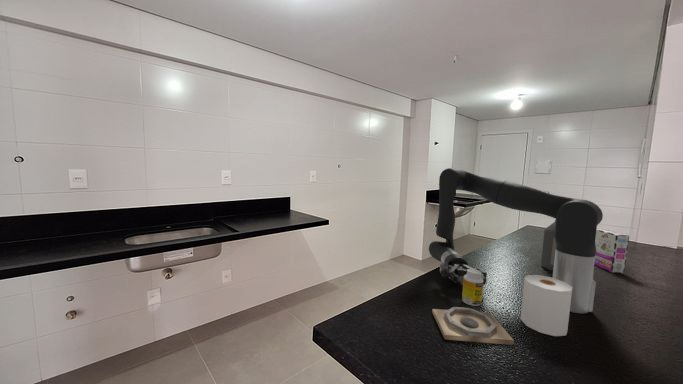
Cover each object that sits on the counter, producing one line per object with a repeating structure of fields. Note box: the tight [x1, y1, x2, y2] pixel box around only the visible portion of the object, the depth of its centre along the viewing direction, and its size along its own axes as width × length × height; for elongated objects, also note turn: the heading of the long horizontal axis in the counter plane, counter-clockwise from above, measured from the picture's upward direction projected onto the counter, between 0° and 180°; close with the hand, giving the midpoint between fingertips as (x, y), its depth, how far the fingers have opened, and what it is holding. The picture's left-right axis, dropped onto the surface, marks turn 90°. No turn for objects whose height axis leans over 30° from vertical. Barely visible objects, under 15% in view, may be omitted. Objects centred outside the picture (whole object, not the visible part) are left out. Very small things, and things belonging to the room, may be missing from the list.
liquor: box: [540, 219, 556, 272], centre depth 114 cm, size 9×9×30 cm
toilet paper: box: [520, 274, 572, 337], centre depth 72 cm, size 10×10×12 cm
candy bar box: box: [594, 229, 630, 274], centre depth 117 cm, size 11×5×16 cm, turn 172°
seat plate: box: [431, 306, 515, 346], centre depth 70 cm, size 16×12×2 cm
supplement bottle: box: [461, 268, 484, 307], centre depth 83 cm, size 6×6×10 cm
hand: (470, 281), depth 86 cm, fingers open, 8 cm apart
